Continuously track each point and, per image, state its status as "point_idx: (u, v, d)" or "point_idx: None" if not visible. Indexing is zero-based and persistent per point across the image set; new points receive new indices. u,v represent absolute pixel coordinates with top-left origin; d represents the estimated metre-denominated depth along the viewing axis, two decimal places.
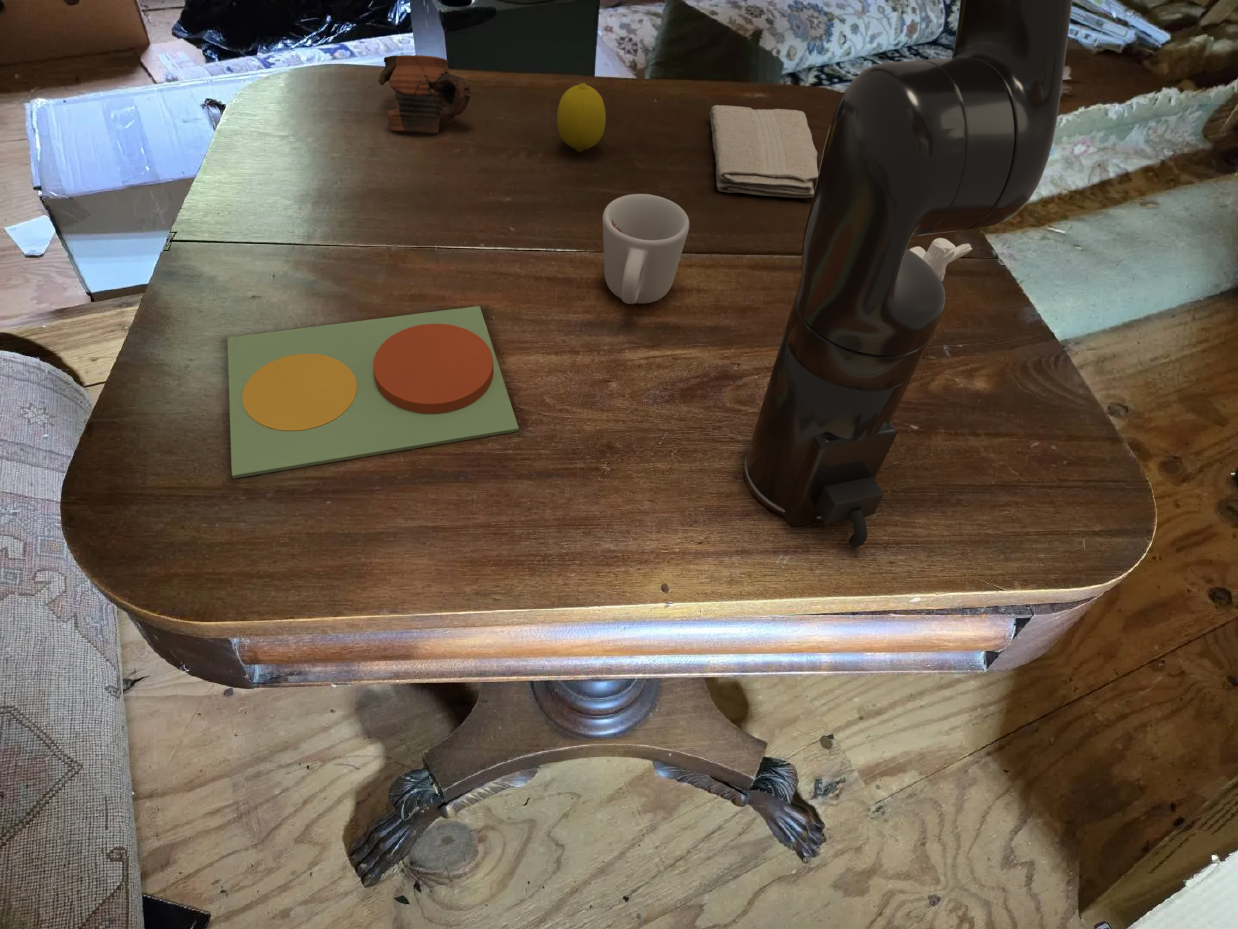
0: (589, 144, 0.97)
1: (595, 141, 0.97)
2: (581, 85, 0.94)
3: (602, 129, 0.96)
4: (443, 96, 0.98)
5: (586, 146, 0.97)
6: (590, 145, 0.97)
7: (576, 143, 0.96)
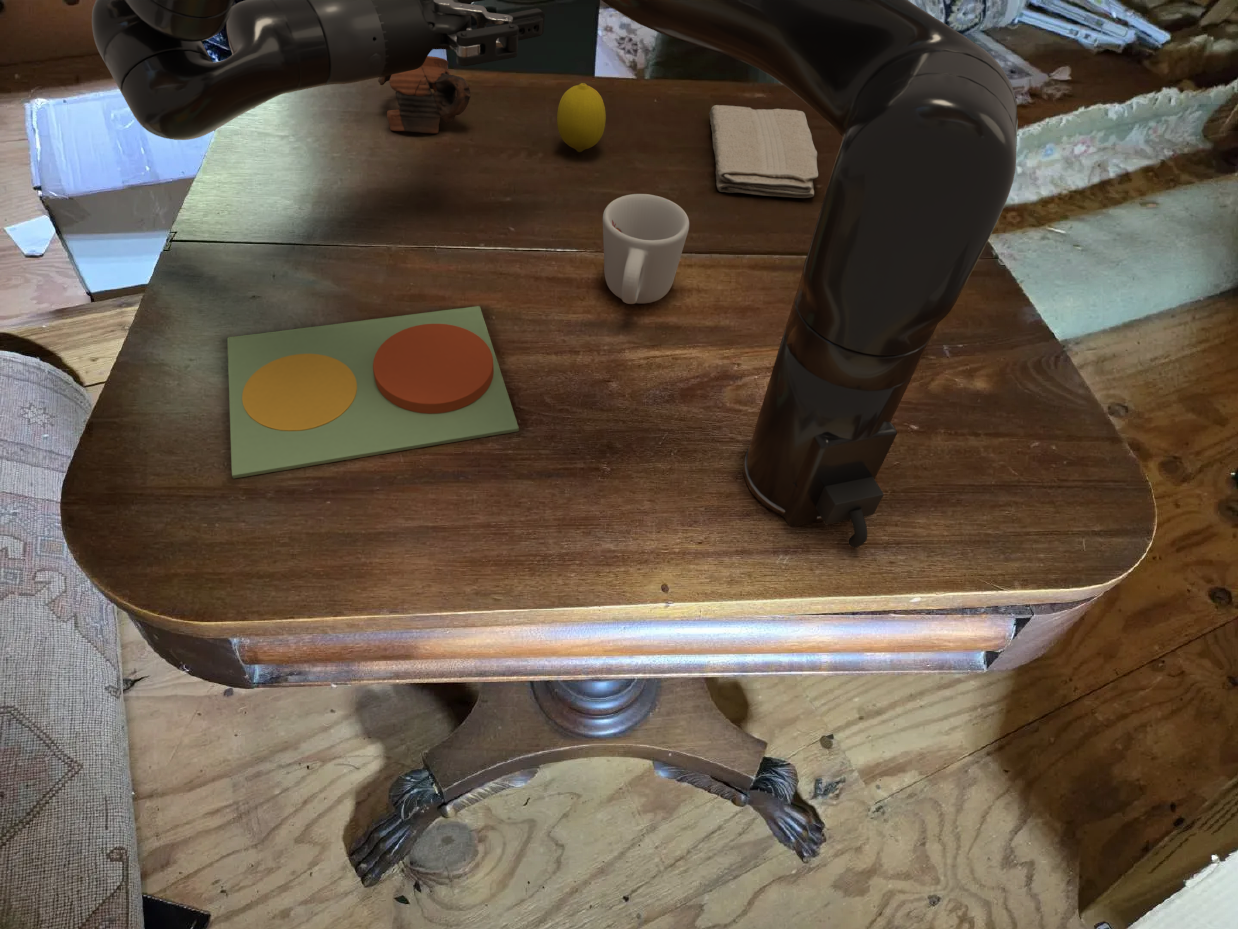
0: (589, 144, 0.97)
1: (595, 141, 0.97)
2: (581, 85, 0.94)
3: (602, 129, 0.96)
4: (443, 96, 0.98)
5: (586, 146, 0.97)
6: (590, 145, 0.97)
7: (576, 142, 0.96)
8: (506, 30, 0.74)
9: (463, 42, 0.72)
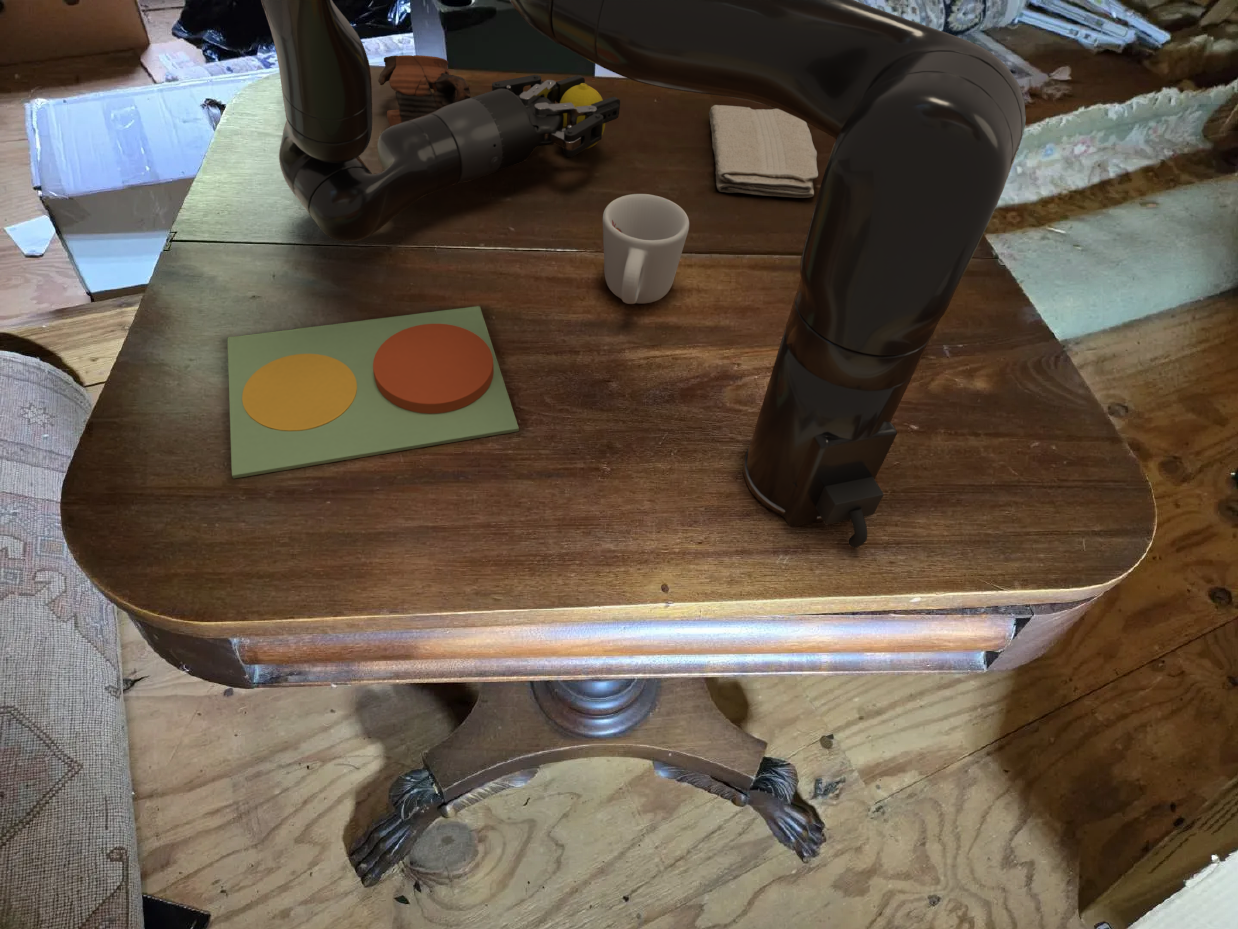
0: None
1: None
2: (581, 85, 0.94)
3: (602, 129, 0.96)
4: (443, 96, 0.98)
5: None
6: None
7: None
8: (596, 120, 0.90)
9: (571, 138, 0.88)
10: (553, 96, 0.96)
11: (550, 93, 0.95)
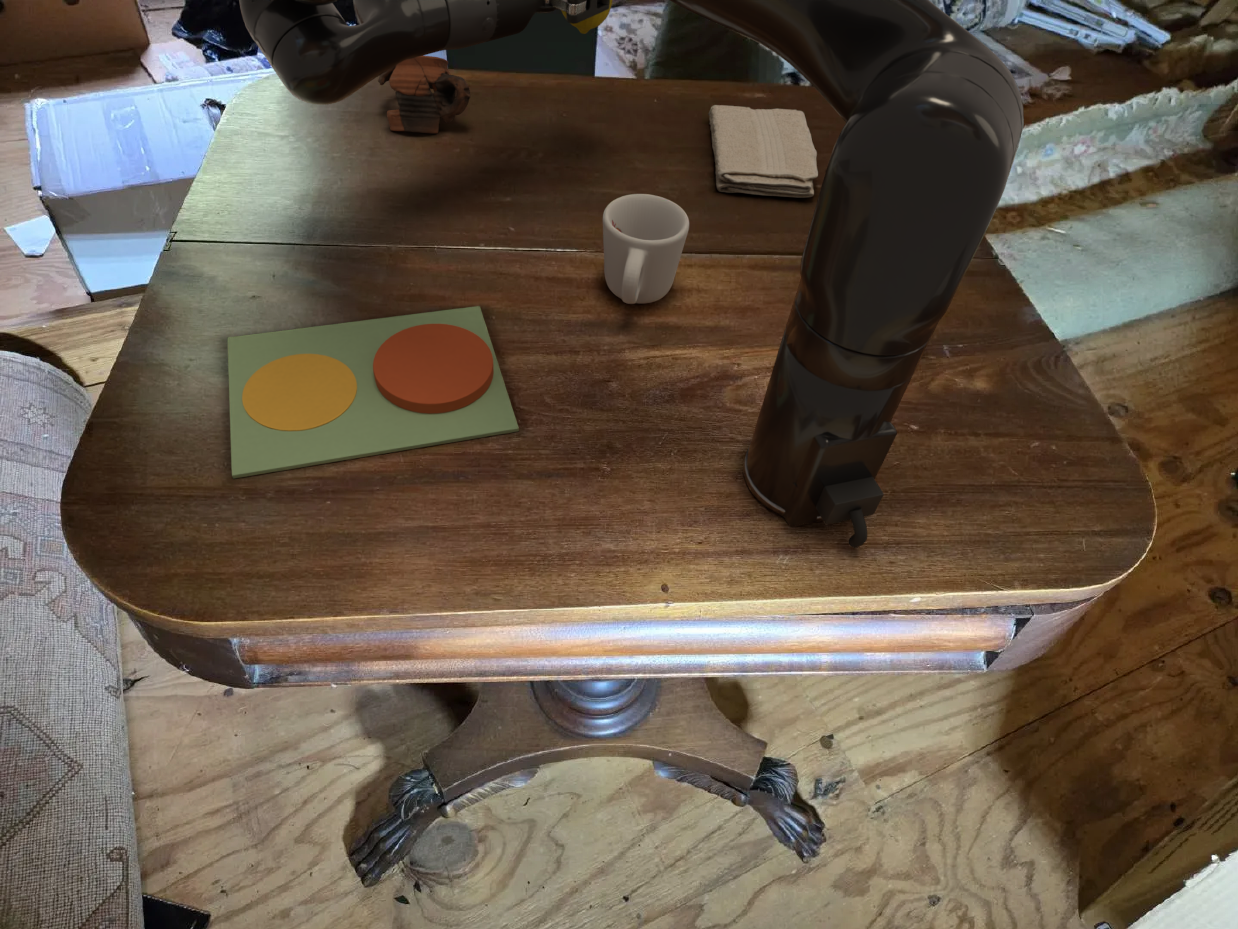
0: (594, 21, 0.86)
1: (601, 18, 0.86)
2: None
3: None
4: (443, 96, 0.98)
5: (591, 24, 0.86)
6: (596, 23, 0.87)
7: None
8: None
9: (575, 0, 0.77)
10: None
11: None
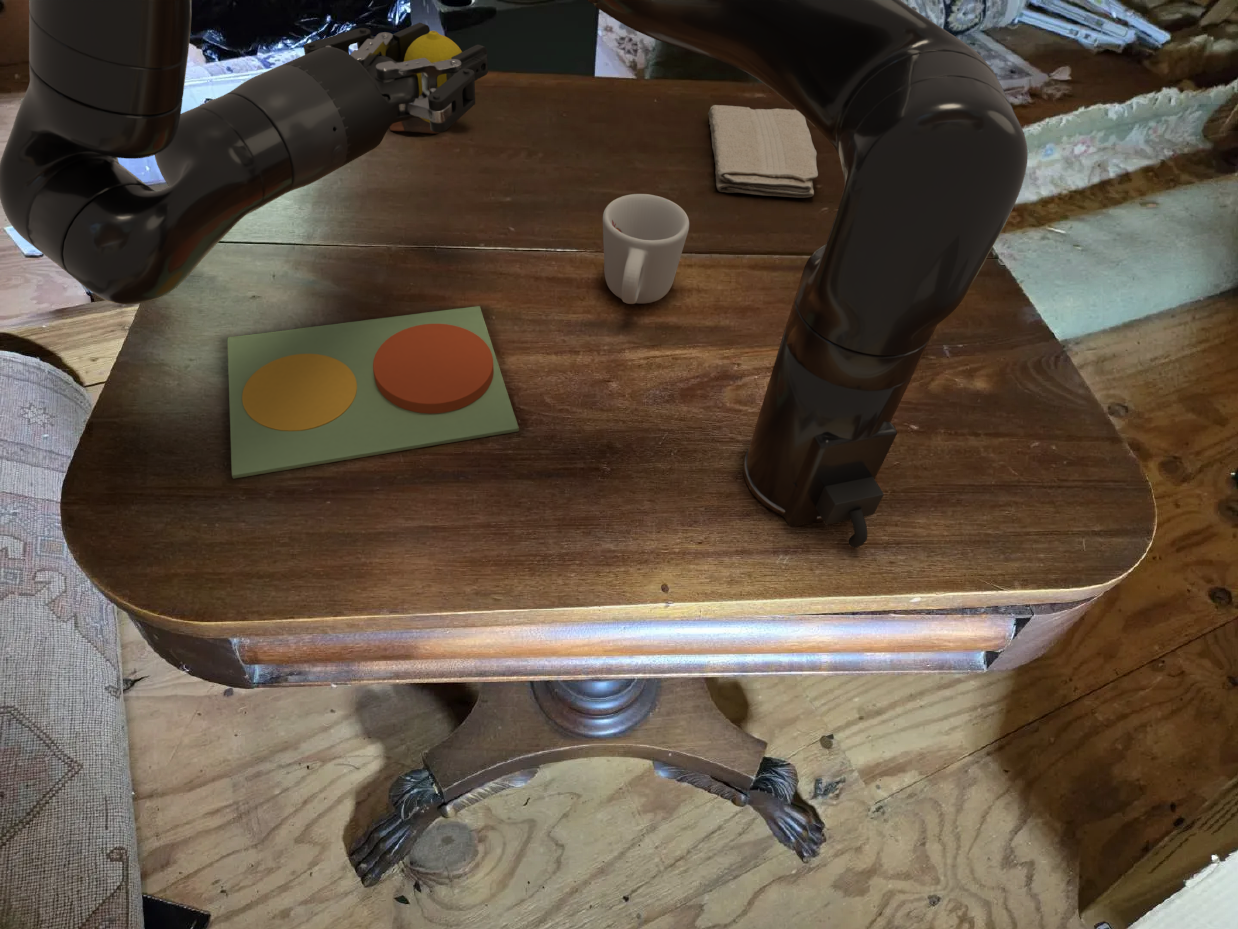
0: None
1: None
2: (431, 34, 0.68)
3: None
4: None
5: None
6: None
7: None
8: (466, 77, 0.65)
9: (440, 106, 0.62)
10: (392, 55, 0.69)
11: (388, 51, 0.69)
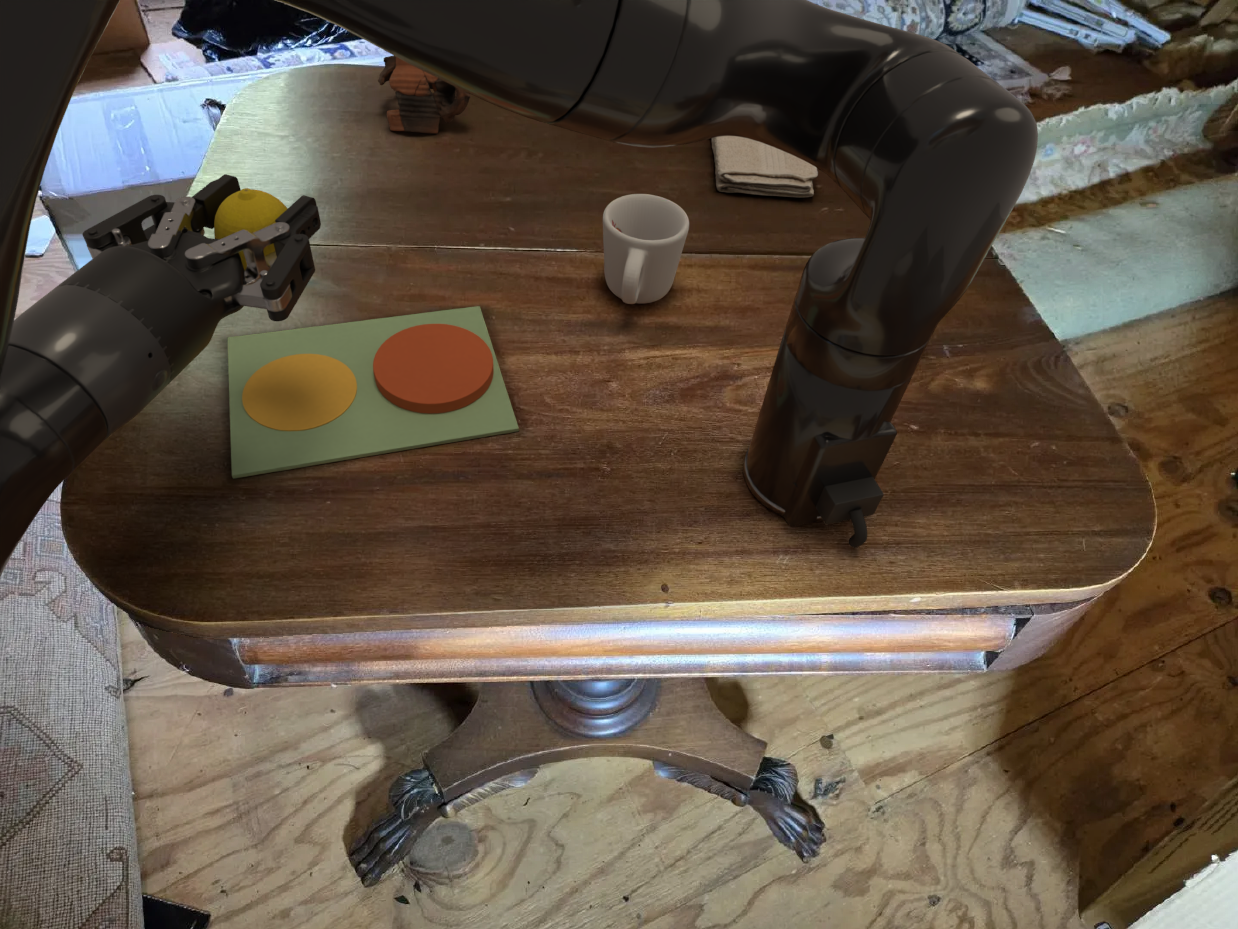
0: None
1: None
2: (244, 193, 0.56)
3: None
4: (443, 96, 0.98)
5: None
6: None
7: None
8: (301, 247, 0.54)
9: (278, 293, 0.51)
10: (199, 221, 0.57)
11: (192, 219, 0.56)
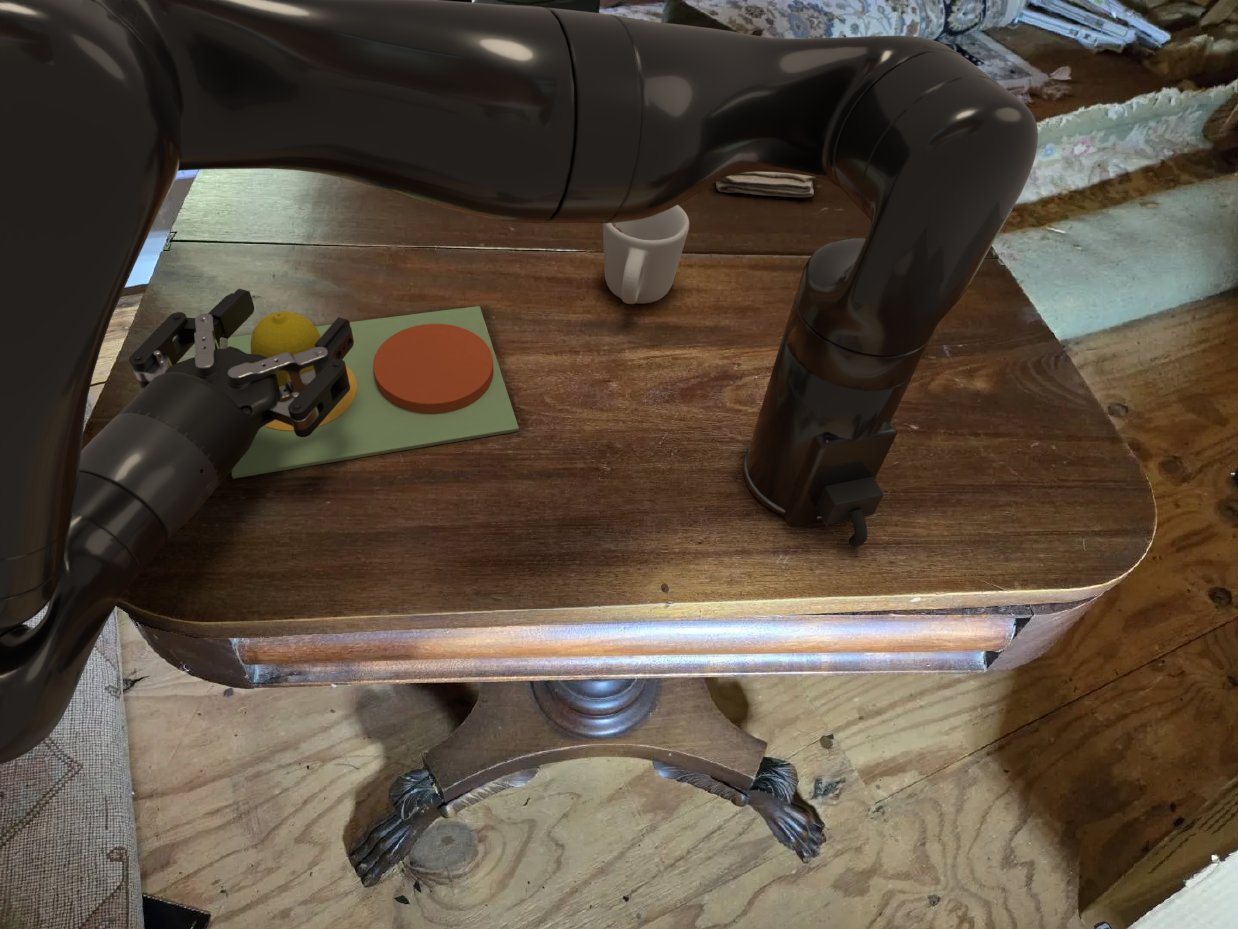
0: None
1: None
2: (277, 318, 0.64)
3: None
4: None
5: None
6: None
7: None
8: (335, 373, 0.61)
9: (301, 416, 0.58)
10: (216, 334, 0.64)
11: None
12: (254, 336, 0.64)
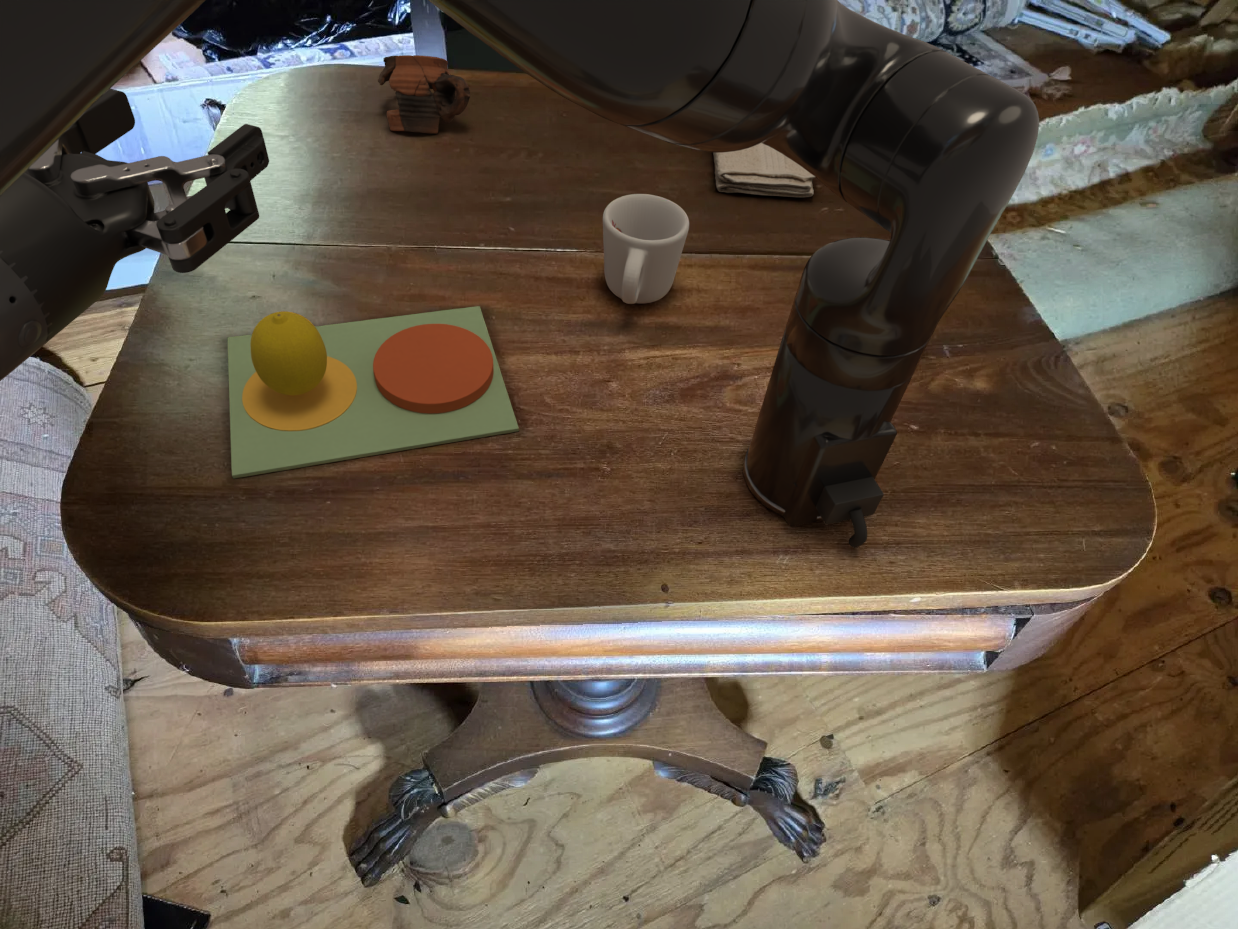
0: (315, 385, 0.68)
1: (322, 377, 0.68)
2: (277, 318, 0.64)
3: (326, 359, 0.68)
4: (443, 96, 0.98)
5: (312, 388, 0.68)
6: None
7: (297, 391, 0.67)
8: (233, 185, 0.42)
9: (177, 236, 0.40)
10: (73, 145, 0.46)
11: (66, 140, 0.45)
12: (254, 336, 0.64)
